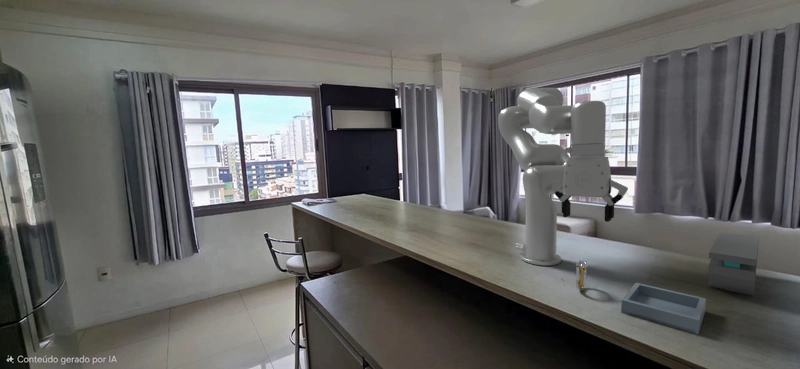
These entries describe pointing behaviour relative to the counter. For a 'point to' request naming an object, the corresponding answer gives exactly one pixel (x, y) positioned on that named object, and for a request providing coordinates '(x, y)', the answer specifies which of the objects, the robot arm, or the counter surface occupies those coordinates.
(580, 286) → the bracelet
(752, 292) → the gray slotted box
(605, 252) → the counter surface
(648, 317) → the tray
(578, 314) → the counter surface
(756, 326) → the counter surface
